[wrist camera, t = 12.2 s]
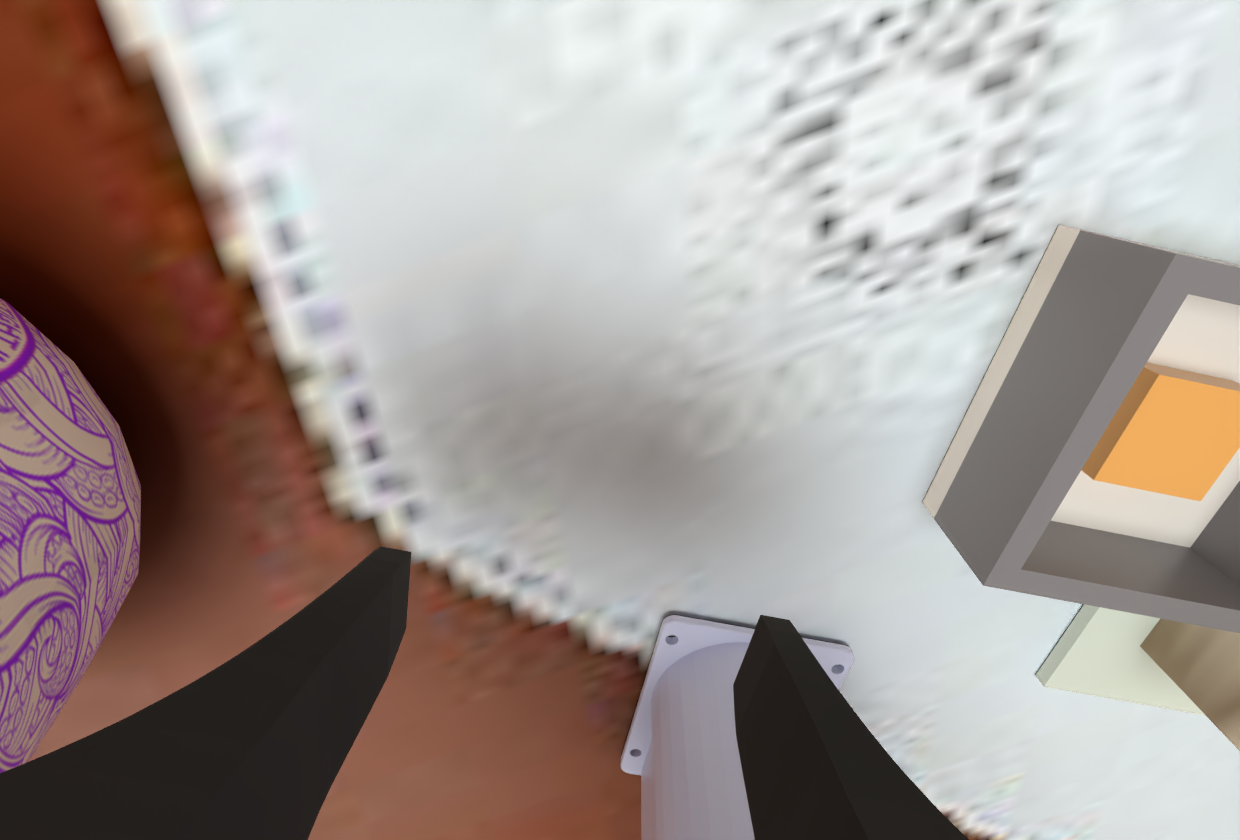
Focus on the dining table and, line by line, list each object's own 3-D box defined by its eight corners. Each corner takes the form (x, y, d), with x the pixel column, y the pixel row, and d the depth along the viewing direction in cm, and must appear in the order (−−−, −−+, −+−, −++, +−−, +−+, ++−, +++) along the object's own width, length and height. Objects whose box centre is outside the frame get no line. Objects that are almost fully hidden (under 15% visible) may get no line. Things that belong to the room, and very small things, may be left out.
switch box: (1175, 552, 23) (1288, 642, 19) (922, 502, 23) (983, 585, 19) (1365, 293, 19) (1560, 339, 15) (1058, 224, 18) (1176, 253, 14)
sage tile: (1211, 706, 27) (1223, 718, 26) (1035, 675, 26) (1043, 686, 26) (1340, 559, 23) (1357, 570, 23) (1141, 520, 23) (1153, 530, 22)
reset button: (1166, 478, 21) (1200, 501, 20) (1066, 458, 21) (1093, 480, 19) (1232, 381, 19) (1274, 398, 18) (1125, 358, 19) (1159, 374, 18)
